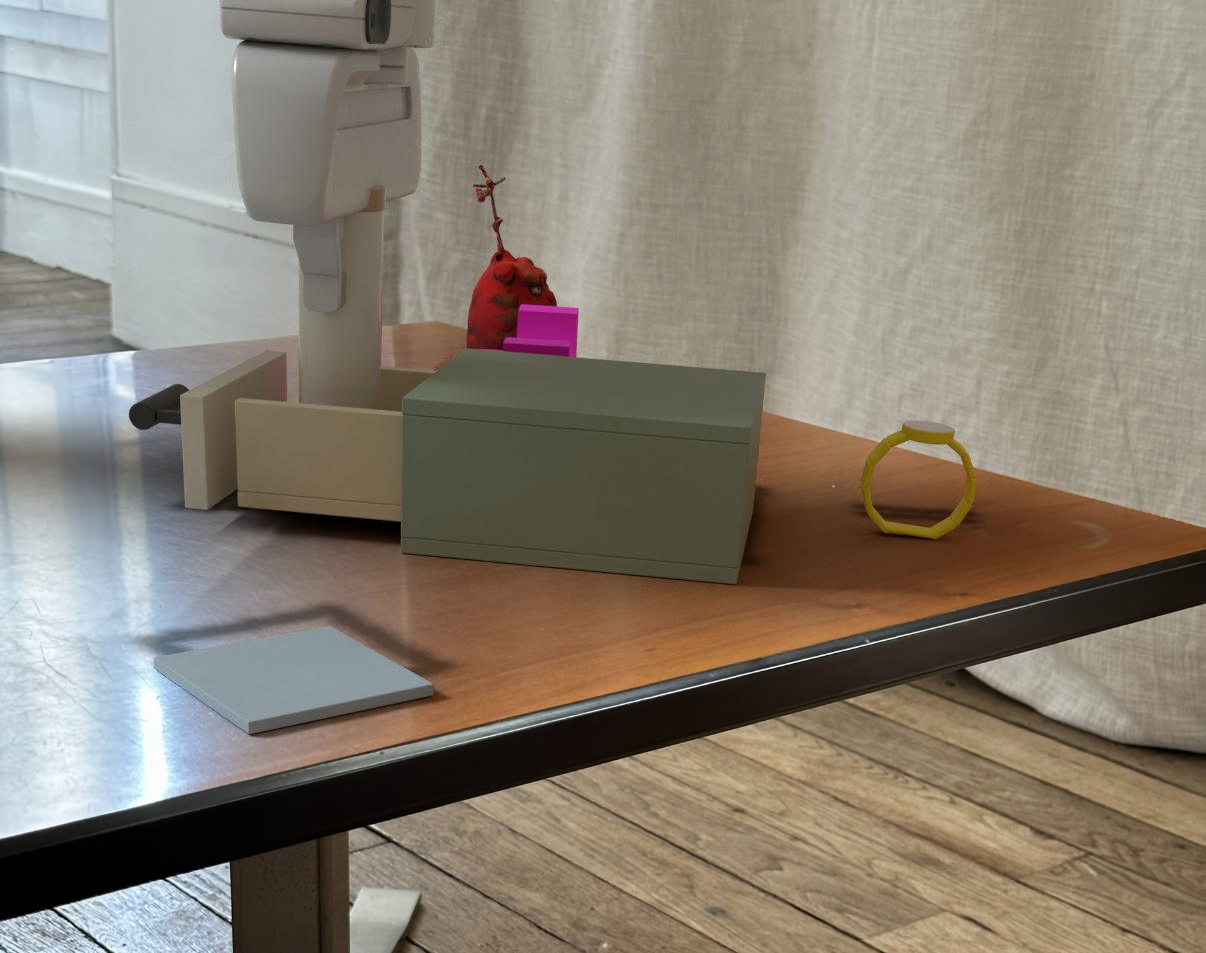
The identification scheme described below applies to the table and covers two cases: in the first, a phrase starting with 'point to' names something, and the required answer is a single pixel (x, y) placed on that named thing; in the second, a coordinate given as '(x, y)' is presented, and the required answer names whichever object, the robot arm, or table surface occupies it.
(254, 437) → the drawer
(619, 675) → the table surface
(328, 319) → the spice jar
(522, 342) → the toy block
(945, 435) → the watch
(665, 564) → the cabinet
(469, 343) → the red clay folk toy
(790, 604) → the table surface
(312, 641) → the mat
